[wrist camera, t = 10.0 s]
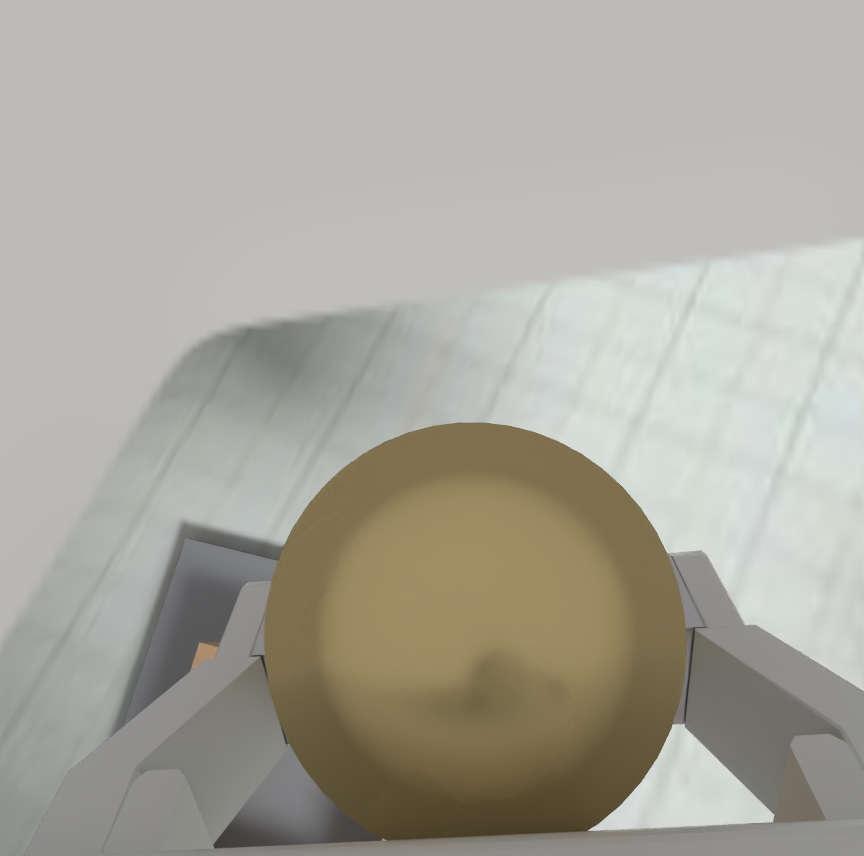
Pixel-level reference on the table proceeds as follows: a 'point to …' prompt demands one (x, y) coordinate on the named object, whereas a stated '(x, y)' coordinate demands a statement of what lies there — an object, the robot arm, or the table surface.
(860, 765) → the robot arm
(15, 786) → the table surface
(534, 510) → the brass tube
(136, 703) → the plate
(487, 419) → the table surface
